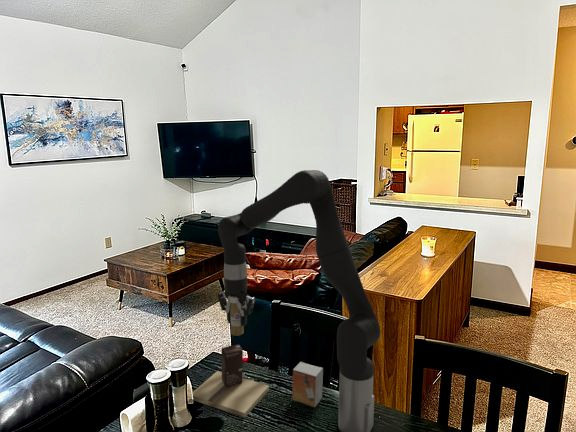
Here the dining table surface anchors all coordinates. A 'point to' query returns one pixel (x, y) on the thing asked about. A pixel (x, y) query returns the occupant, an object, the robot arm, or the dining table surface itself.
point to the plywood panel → (230, 394)
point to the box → (232, 365)
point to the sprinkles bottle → (235, 318)
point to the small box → (307, 384)
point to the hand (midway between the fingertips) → (237, 323)
